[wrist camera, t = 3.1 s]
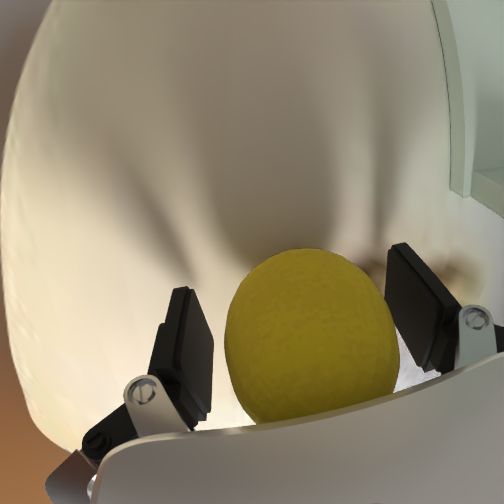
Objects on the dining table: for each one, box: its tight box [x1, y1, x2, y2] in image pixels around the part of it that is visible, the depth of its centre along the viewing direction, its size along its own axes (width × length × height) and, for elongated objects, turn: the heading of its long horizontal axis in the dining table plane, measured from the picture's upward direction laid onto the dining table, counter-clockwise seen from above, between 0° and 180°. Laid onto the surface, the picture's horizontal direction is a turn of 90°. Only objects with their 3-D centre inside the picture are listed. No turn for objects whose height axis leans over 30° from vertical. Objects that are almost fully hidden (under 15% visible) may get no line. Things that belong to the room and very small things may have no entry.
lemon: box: [224, 248, 400, 425], centre depth 9 cm, size 6×6×8 cm
